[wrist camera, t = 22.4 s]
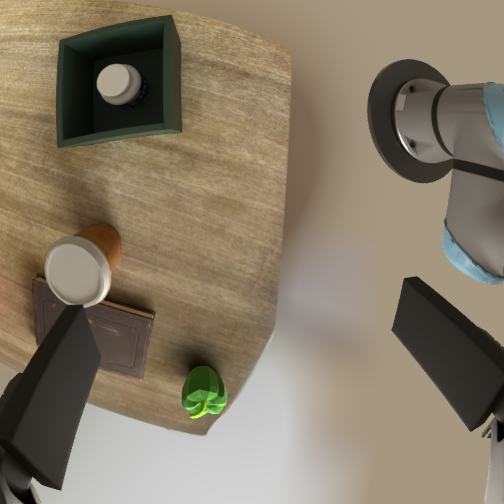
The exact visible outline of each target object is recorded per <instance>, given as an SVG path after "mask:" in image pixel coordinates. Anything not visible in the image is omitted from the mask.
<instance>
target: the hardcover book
mask: <svg viewBox="0 0 504 504" xmlns="http://www.w3.org/2000/svg"><path fill="white" fill-rule="evenodd" d="M32 286H33V310H34V323H35V334H36V342H37V346H40V344H41V343H42V341H43V340H44V338H45V336H46V335H47V333H48V332H49V330H50V329H51V327H52V326H53V324H54V323H55V322H56V320H57V319H58V317H59V316H60V314H61V313H62V311H63V310H64V309H65V307H66V306H67V305H68V304H66V303H64V302H63V301H62V300H60V299H59V298H58V297H57V296H56V295H55V294H54V293H53V291H52V290H51V288H50V286H49V284H48V283H47V279H46V277H44V276H42V275H39V274H37V278H36V280H35V279H32ZM84 309H85V312H86V315H87V319H88V321H89V324H90V327H91V330H92V333H93V336H94V338H95V341H96V344H97V347H98V349H99V352H100V354H101V357H102V360H101V362H100V365H99V368H98V369H100V370H104V371H107V372H110V373H113V374H117V375H120V376H123V377H127V378H130V379H134V380H138V381H142V379H143V374H144V368H145V363H146V357H147V352H148V347H149V342H150V337H151V332H152V327H153V322H154V317H155V313H156V312H152V311H149V310H145V309H142V308H138V307H135V306H131V305H128V304H124V303H121V302H118V301H115V300H111V299H108V298H104V299H103V300H102V301H100V302H99V303H97V304H95V305H92V306H89V307H86V308H84Z"/></svg>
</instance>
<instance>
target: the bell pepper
mask: <svg viewBox="0 0 504 504" xmlns="http://www.w3.org/2000/svg"><path fill="white" fill-rule="evenodd" d="M226 402H227V391H226V388H225V386H224V383H223V381H222V379H221V377H220V375H219V374H218V373H217V372H214V370H213V369H211V368H210V367H208V366H198V367H195V368H193V369H192V371H191V372H190V373H189V375H188V377H187V379H186V381H185V384H184V386H183V389H182V405H183V407H184V408H185V409H187V410H189V411H190V412H191V413H192V414H191V415H190V416H191V418H197V417H200V416H201V415H205V414H206V413H207V412H209V413H213V414H219V413H220V411H221V410H222V409H223V408H224V406H225V404H226Z"/></svg>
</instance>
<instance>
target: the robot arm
mask: <svg viewBox="0 0 504 504" xmlns="http://www.w3.org/2000/svg"><path fill="white" fill-rule="evenodd" d="M391 123H392V128H393V131H394V134H395V137H396V139H397V141H398V143H399V144H400V146H401V147H402V149H403V150H404V151H405V152H406V153H407V154H408V155H409V156H410V157H412V158H413V159H415V160H417V161H420V162H425V163H439V162H442V161H446V160H449V159H452V158H454V159H453V171H452V179H451V187H450V194H449V201H448V208H447V214H446V218H445V220H444V234H443V241H442V246H443V251H444V253H445V255H446V257H447V258H448V260H449V261H450V262H451V263H452V264H453V265H454V266H455V267H456V268H457V269H459V270H460V271H461V272H463V273H464V274H466V275H468V276H469V277H471V278H473V279H475V280H477V281H480V282H482V281H484V282H486V283H487V284H490V285H498V284H500V283H502V282H503V281H504V84H496V83H494V82H488V83H479V84H465V85H453V86H446V85H444V84H441V83H438V82H435V81H432V80H428V79H414V80H409V81H407V82H405V83H403V84H402V85H401V86H400V87H399V88H398V90H397V91H396V93H395V95H394V97H393V100H392V105H391ZM392 332H393V333H394V334H395V335H396V336H397V338H398V339H399V340H400V341H401V342H402V344H403V345H404V346H405V347H406V348H407V350H408V351H409V352H410V353H411V355H412V356H413V357H414V358H415V359H416V361H417V362H418V363H419V365H420V366H421V367H422V368H423V370H424V371H425V372H426V373H427V374H428V376H429V377H430V378H431V380H432V381H433V382H434V384H435V385H436V386H437V387H438V389H439V390H440V391H441V393H442V394H443V395H444V396H445V398H446V399H447V401H448V402H449V403H450V405H451V406H452V407H453V409H454V410H455V411H456V412H457V414H458V415H459V417H460V418H461V419H462V421H463V422H464V423H465V425H466V426H467V427H468V429H469V431H470V432H471V431H473V430H474V429H476V428H478V427H479V426H481V425H482V424H483V423H485V421H486V420H487V418H488V417H489V416H490V414H491V413H493V414H494V416H495V417H494V419H493V420H492V421H491V423H490V424H489V425H488V427H487V428H486V429H485V430H484V432H483V433H482V437H484V436H485V435H486V434H487V433H488V432H489V430H490V429H491V432H490V433H489V435H488V437H487V438H491V445H490V461H489V471H488V479H487V486H486V492H485V498H484V504H504V347H503V346H502V347H501V344H500V343H498V342H497V341H496V340H494V338H493V337H492V336H491V335H490V334H489V333H488V332H486V331H485V330H483V329H481V328H479V327H477V326H476V325H475V324H474V323H473V322H471V321H470V320H469V319H468V318H467V317H466V316H465V315H463V314H462V313H461V312H460V311H459V310H458V309H456V308H455V307H454V306H453V305H452V304H451V303H449V302H448V301H447V300H446V299H445V298H443V297H442V296H441V295H440V294H438V293H437V292H436V291H435V290H434V289H432V288H431V287H430V286H429V285H427V284H426V283H425V282H424V281H422V280H421V279H420V278H419V277H409V278H404V281H403V285H402V290H401V295H400V299H399V303H398V308H397V312H396V315H395V320H394V323H393V327H392ZM101 360H102V357H101V354H100V352H99V349H98V347H97V344H96V341H95V338H94V336H93V333H92V330H91V327H90V324H89V321H88V319H87V315H86V312H85V309H84V306H83V304H79V305H67V306H66V307H65V309H64V310H63V311H62V313H61V314H60V316H59V317H58V319H57V320H56V322H55V323H54V324H53V326H52V327H51V329H50V330H49V332H48V333H47V335H46V336H45V338H44V340H43V341H42V343H41V344H40V346H39V347H38V349H37V351H36V352H35V354H34V355H33V357H32V359H31V360H30V362H29V364H28V365H27V367H26V369H25V370H24V372H23V373H18V374H17V375H16V376H15V377H14V378H13V379H12V380H11V381H10V382H9V383H8V385H7V387H6V389H5V390H4V395H3V394H2V396H1V398H0V504H42V502H41V500H40V498H39V496H38V494H37V492H36V489H35V488H34V486H33V485H32V484H31V483H30V482H31V478H32V477H33V478H35V479H36V480H37V481H38V482H39V483H40V484H42V485H44V486H47V487H50V488H53V489H57V490H61V489H62V484H63V480H64V476H65V472H66V468H67V464H68V460H69V457H70V453H71V449H72V446H73V442H74V439H75V435H76V432H77V428H78V426H79V422H80V419H81V416H82V413H83V410H84V407H85V404H86V401H87V398H88V395H89V392H90V390H91V387H92V384H93V381H94V378H95V376H96V373H97V370H98V368H99V365H100V362H101Z"/></svg>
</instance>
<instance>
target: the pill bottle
mask: <svg viewBox="0 0 504 504" xmlns="http://www.w3.org/2000/svg"><path fill="white" fill-rule="evenodd" d="M97 88H98V90H99V92H100V93H101V96H102V97H103V99H104V100H105V101H106V102H108V103H110V104H112V105H115V106H118V107H121V108H124V109H134V108H137V107H139V106H141V105H142V104H143V103H144V102H145V101H146V99H147V98H148V96H149V92H150V85H149V82H148V80H147V79H146V78H145V77H144V76H143V75H142V74H141V73H140V72H139V71H138V70H137V69H135V68H134V67H133V66H130V65H126V64H122V65H121V64H112V65H109V66H107V67H106V68H105V69H103V70H102V71H101V73H100V74H99V76H98V79H97Z"/></svg>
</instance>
